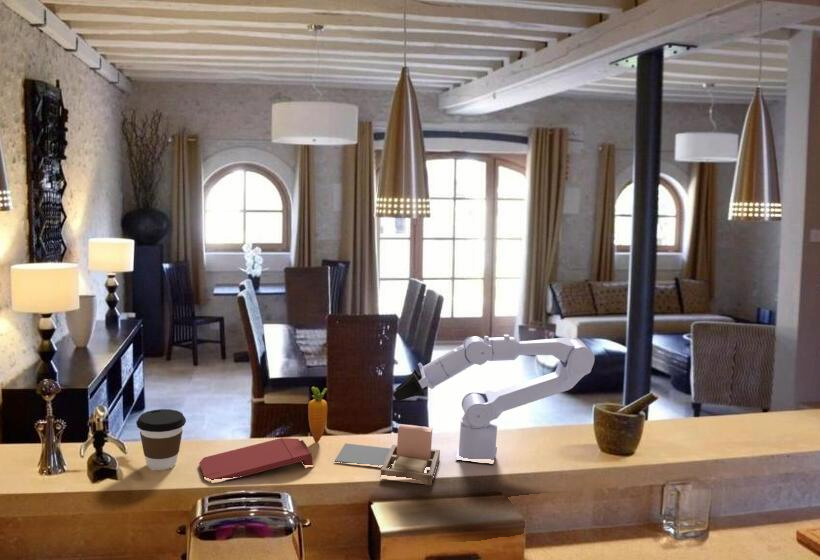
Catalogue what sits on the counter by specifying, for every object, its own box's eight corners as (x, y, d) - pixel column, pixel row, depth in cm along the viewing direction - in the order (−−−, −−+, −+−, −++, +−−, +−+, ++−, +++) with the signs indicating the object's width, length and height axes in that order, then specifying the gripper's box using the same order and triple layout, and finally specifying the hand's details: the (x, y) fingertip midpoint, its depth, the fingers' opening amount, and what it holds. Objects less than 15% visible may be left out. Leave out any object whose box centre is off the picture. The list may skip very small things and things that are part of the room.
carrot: (328, 439, 203) (330, 384, 200) (324, 446, 198) (326, 390, 195) (309, 437, 203) (311, 382, 201) (304, 445, 199) (306, 388, 196)
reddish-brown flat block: (208, 500, 176) (315, 471, 184) (205, 480, 174) (313, 452, 183) (201, 477, 186) (302, 451, 195) (197, 458, 185) (300, 433, 194)
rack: (439, 459, 194) (439, 450, 194) (431, 485, 180) (432, 475, 179) (391, 454, 196) (392, 444, 196) (380, 479, 181) (380, 469, 181)
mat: (391, 450, 198) (391, 448, 198) (383, 468, 187) (383, 466, 187) (345, 445, 200) (345, 443, 200) (334, 463, 189) (334, 460, 189)
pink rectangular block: (430, 462, 193) (432, 427, 191) (428, 467, 190) (430, 432, 188) (398, 458, 194) (400, 424, 192) (396, 463, 191) (398, 428, 189)
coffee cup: (130, 461, 184) (129, 413, 182) (175, 452, 190) (175, 405, 188) (146, 479, 175) (145, 428, 173) (193, 468, 182) (193, 419, 180)
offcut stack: (427, 473, 187) (428, 459, 186) (423, 482, 182) (424, 468, 181) (394, 469, 188) (395, 455, 187) (389, 477, 183) (390, 463, 183)
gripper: (436, 350, 200) (390, 376, 200) (434, 357, 185) (385, 385, 186) (450, 374, 199) (404, 400, 200) (449, 383, 185) (400, 411, 186)
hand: (396, 395), depth 193 cm, fingers open, 7 cm apart
